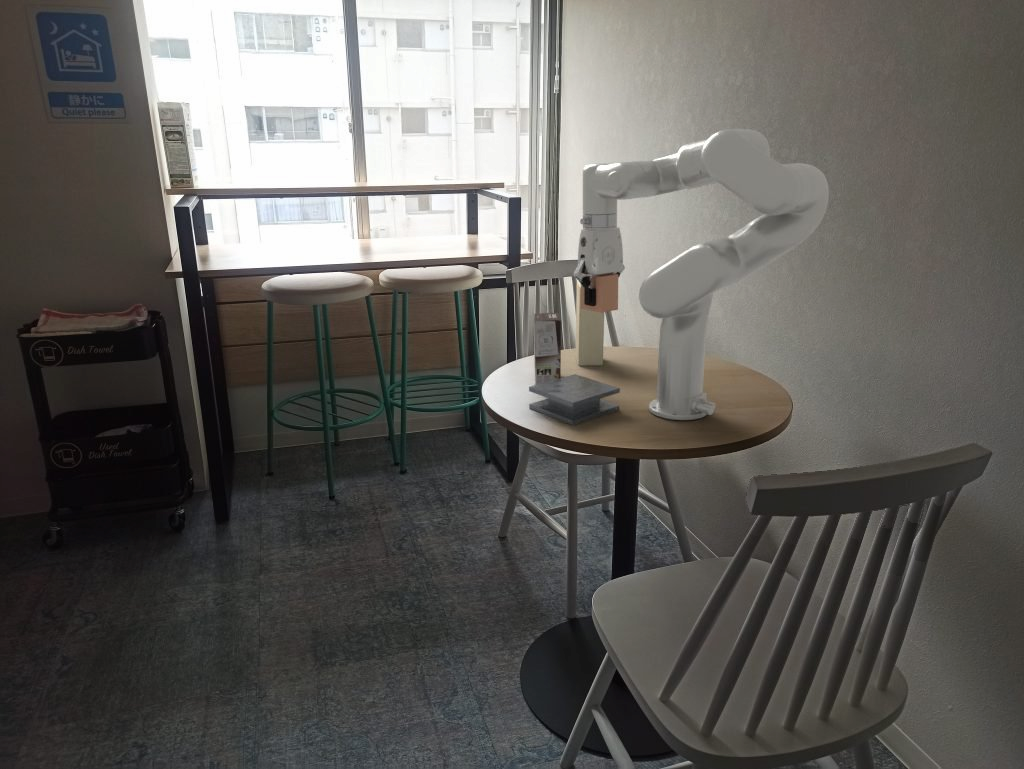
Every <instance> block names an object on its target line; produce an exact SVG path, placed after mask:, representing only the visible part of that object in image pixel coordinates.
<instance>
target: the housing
mask: <svg viewBox="0 0 1024 769" xmlns="http://www.w3.org/2000/svg"><path fill="white" fill-rule="evenodd" d="M589 274H590V273H589ZM583 275H584V274H583ZM588 280H590V277H589V279H588ZM594 288H596V305H595V306H589V305H585V304H584V287H582V284H581V309H586V310H590V311H595V312H600V313H604V314H605V313H608V312H612V311H613V312H614V311H618V310H619V278H618V274H605V275H598V276H596V277H595V283H594Z"/></svg>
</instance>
